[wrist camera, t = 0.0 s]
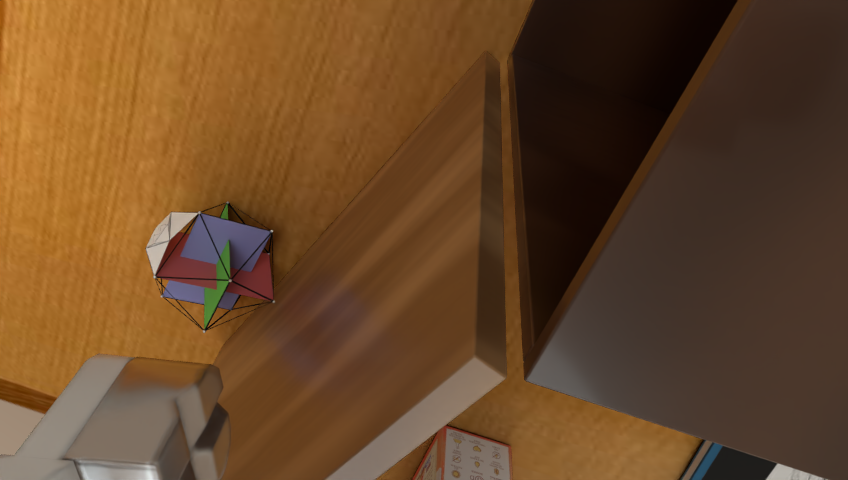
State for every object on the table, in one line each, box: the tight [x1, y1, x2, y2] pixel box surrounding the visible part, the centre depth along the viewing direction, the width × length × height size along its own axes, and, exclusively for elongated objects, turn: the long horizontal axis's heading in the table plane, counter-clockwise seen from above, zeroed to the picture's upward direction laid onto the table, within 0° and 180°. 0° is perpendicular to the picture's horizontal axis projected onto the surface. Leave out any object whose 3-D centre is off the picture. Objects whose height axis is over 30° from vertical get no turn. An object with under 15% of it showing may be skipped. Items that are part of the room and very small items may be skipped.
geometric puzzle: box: [146, 201, 275, 333], centre depth 39 cm, size 7×7×8 cm
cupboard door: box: [213, 51, 507, 480], centre depth 32 cm, size 7×27×23 cm, turn 141°
